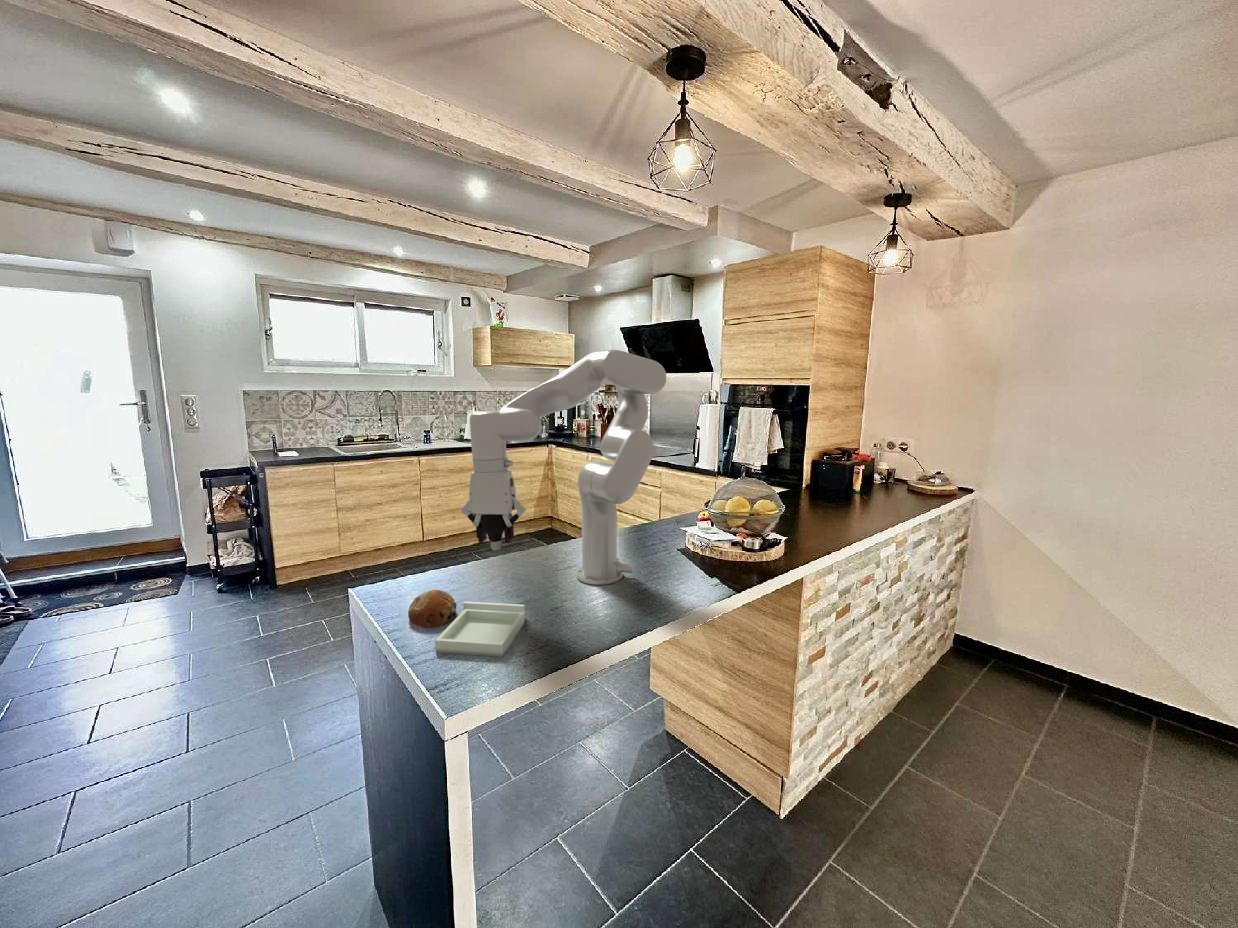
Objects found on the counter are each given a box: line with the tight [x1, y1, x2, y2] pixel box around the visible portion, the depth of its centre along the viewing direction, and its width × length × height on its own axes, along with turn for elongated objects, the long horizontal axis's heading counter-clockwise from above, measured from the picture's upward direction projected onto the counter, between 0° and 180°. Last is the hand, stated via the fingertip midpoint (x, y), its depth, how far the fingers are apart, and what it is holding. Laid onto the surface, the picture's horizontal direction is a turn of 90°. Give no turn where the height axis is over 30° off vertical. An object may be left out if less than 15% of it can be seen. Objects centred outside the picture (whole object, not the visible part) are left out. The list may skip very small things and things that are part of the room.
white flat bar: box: [462, 601, 526, 618], centre depth 109 cm, size 14×1×3 cm, turn 83°
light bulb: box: [481, 515, 506, 552], centre depth 113 cm, size 6×6×10 cm
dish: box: [434, 608, 526, 658], centre depth 100 cm, size 14×14×2 cm
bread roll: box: [407, 589, 458, 628], centre depth 109 cm, size 10×10×8 cm
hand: (495, 540), depth 113 cm, fingers closed on light bulb, 5 cm apart
